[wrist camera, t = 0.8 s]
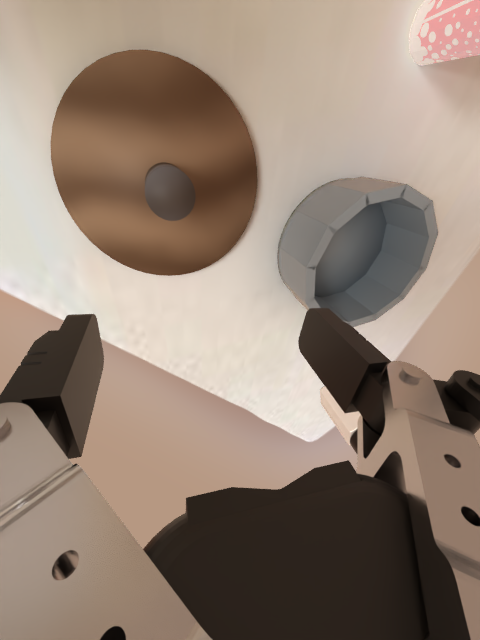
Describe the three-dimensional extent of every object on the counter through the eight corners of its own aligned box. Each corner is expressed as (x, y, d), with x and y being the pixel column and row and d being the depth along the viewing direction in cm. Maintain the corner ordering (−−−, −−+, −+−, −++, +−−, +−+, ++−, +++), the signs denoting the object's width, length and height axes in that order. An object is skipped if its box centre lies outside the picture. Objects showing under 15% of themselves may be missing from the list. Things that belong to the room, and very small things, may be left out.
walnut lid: (2, 68, 17) (-54, 39, 12) (241, 42, 20) (272, 10, 15) (110, 287, 27) (102, 319, 23) (259, 251, 30) (281, 272, 25)
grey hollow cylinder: (274, 192, 27) (308, 206, 21) (398, 166, 29) (457, 173, 23) (279, 311, 36) (304, 342, 30) (374, 284, 38) (413, 308, 32)
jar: (329, 408, 54) (368, 465, 45) (310, 396, 49) (349, 456, 40) (364, 381, 52) (412, 435, 43) (347, 366, 48) (397, 422, 38)
